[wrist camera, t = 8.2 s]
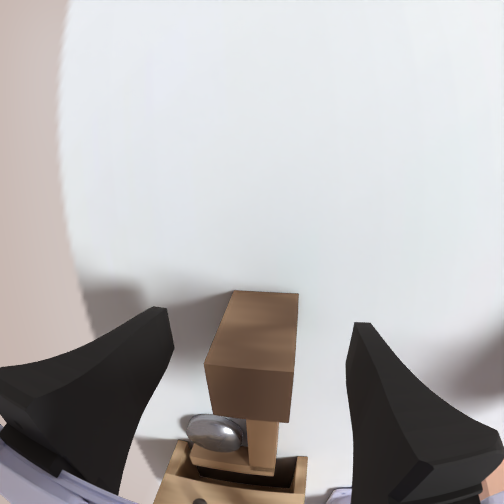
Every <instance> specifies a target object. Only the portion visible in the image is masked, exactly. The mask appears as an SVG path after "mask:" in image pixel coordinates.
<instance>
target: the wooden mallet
mask: <svg viewBox="0 0 504 504" xmlns="http://www.w3.org/2000/svg"><path fill="white" fill-rule="evenodd" d="M298 298H299V294H294V293H273V292H255V291H238V290H234V291H233V294H232V296H231V299H230V301H229V303H228V306H227V308H226V311H225V313H224V316H223V318H222V320H221V323H220V325H219V328H218V330H217V332H216V335H215V337H214V340H213V342H212V345H211V347H210V349H209V352H208V354H207V357H206V359H205V362H204V368H205V374H206V380H207V385H208V390H209V396H210V401H211V406H212V411H213V415H218V416H224V417H232V418H240V419H246V426H247V439H248V447H246V446H240V448H239V449H238V450H236V451H233V452H215V451H211V450H207V449H205V448H202V447H200V446H198V445H196V444H195V443H194V445H193V447H192V450H191V453H190V459H191V461H192V463H193V465H197V466H202V467H207V468H213V469H218V470H224V471H231V472H238V473H245V474H253V475H263V476H274V470H275V463H276V454H277V442H278V429H279V422H282V423H289V416H290V407H291V397H292V387H293V377H294V365H295V351H296V335H297V318H298Z"/></svg>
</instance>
